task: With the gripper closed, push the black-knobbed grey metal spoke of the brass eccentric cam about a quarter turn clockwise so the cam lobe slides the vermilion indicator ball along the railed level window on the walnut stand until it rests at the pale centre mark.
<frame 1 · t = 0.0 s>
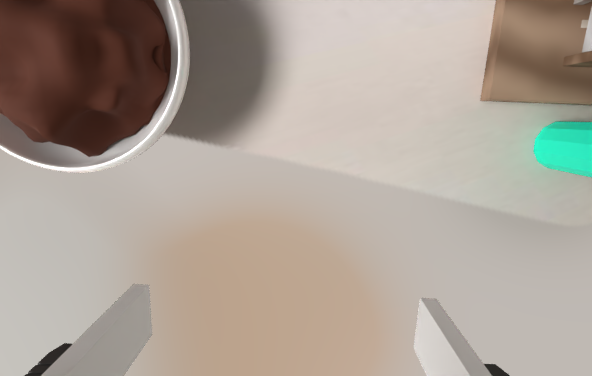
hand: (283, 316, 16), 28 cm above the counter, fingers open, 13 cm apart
candle: (556, 145, 41), on the counter
stand: (561, 4, 38), on the counter
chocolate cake: (112, 60, 40), on the counter
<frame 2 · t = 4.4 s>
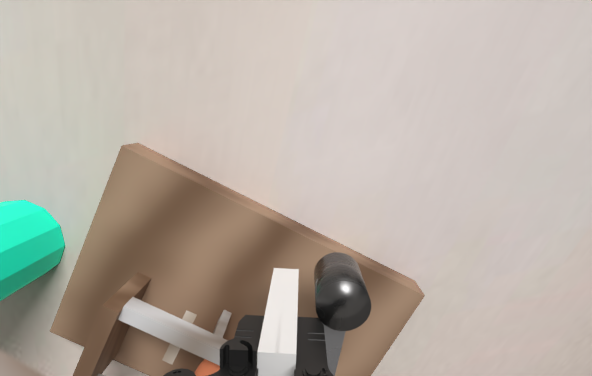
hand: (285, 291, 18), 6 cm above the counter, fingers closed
candle: (27, 237, 24), on the counter
stand: (237, 298, 25), on the counter
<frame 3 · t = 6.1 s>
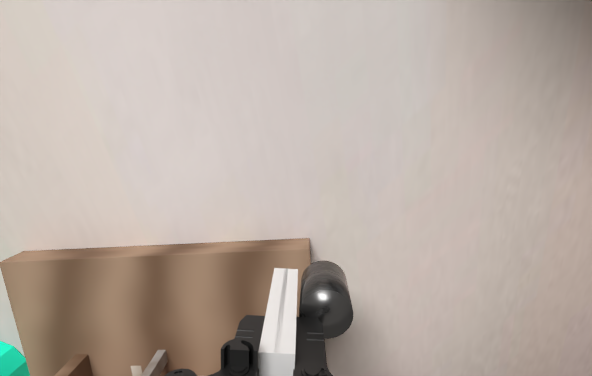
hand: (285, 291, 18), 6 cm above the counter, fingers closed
stand: (176, 333, 26), on the counter
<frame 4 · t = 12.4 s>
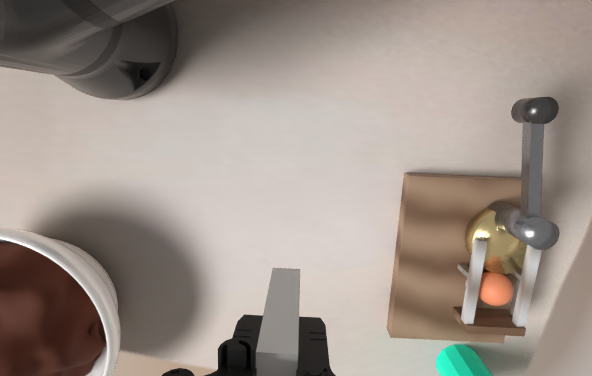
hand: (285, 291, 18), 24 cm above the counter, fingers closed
candle: (456, 361, 47), on the counter
stand: (451, 257, 43), on the counter
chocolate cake: (63, 291, 46), on the counter
cam: (526, 198, 35), point 6 cm above the counter, hinge at 100.9°
ball: (493, 288, 40), point 4 cm above the counter, slide at 3.5 cm
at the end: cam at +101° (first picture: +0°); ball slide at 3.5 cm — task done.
